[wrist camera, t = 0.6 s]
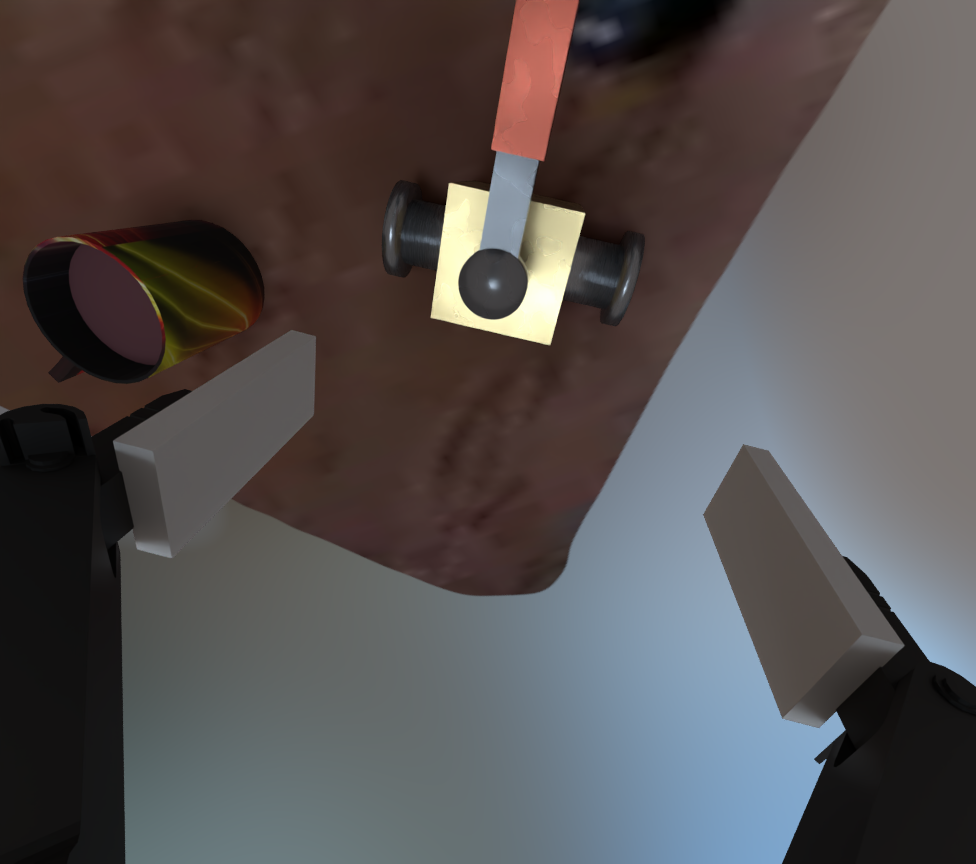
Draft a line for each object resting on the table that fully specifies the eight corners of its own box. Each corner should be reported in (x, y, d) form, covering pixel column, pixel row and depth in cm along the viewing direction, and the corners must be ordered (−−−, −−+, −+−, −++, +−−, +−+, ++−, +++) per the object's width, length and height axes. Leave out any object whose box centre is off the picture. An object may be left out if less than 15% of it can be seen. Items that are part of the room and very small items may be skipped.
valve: (403, 276, 40) (364, 302, 32) (415, 167, 36) (373, 165, 28) (607, 323, 39) (617, 361, 31) (640, 217, 35) (662, 230, 27)
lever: (524, 305, 30) (518, 326, 26) (468, 292, 30) (453, 311, 26) (588, 26, 23) (593, -5, 19) (516, 11, 24) (506, -24, 19)
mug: (144, 339, 46) (20, 388, 35) (167, 196, 39) (22, 205, 29) (240, 388, 47) (147, 450, 36) (277, 257, 40) (176, 287, 30)
